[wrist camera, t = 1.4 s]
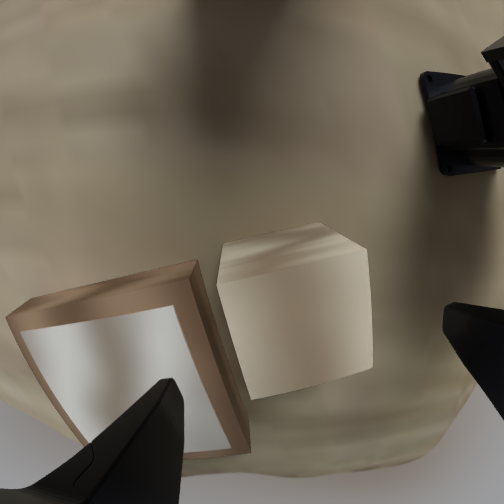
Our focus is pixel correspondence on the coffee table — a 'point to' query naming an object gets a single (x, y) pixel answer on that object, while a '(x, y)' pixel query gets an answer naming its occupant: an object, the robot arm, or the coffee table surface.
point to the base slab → (134, 355)
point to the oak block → (297, 308)
